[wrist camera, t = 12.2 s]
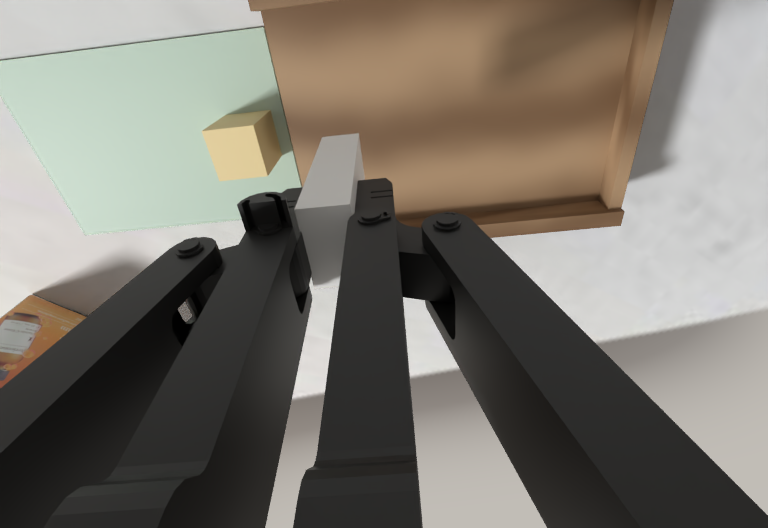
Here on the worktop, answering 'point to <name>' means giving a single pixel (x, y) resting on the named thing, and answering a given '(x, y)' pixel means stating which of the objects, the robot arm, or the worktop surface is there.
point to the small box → (31, 333)
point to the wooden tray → (475, 100)
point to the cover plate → (155, 128)
